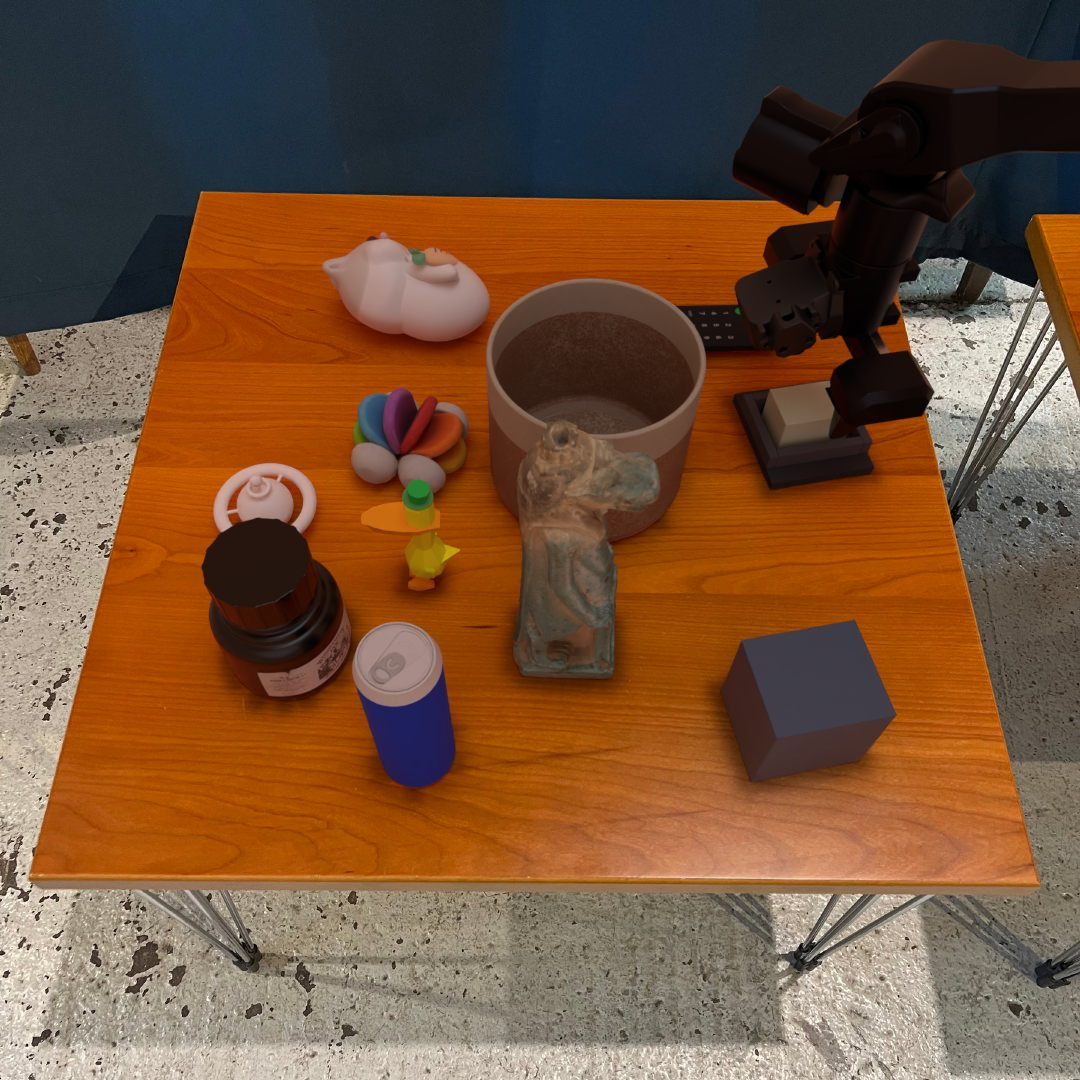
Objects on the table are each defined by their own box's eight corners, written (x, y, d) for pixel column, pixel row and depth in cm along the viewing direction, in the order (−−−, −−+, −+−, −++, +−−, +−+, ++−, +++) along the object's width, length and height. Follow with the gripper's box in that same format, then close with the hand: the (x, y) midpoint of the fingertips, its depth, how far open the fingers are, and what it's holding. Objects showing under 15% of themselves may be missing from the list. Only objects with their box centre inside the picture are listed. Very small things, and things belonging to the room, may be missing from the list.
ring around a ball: (313, 469, 81) (215, 487, 79) (301, 426, 76) (196, 445, 75) (326, 549, 77) (223, 569, 75) (314, 510, 72) (204, 531, 71)
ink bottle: (296, 730, 68) (258, 652, 58) (202, 668, 71) (149, 584, 61) (380, 626, 73) (358, 538, 63) (289, 572, 75) (254, 479, 65)
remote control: (515, 318, 91) (515, 307, 90) (769, 315, 92) (772, 304, 91) (516, 360, 88) (516, 349, 87) (778, 355, 89) (782, 345, 88)
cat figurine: (498, 246, 82) (324, 208, 82) (478, 338, 82) (304, 301, 82) (499, 279, 92) (343, 245, 92) (482, 361, 92) (325, 328, 91)
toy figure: (374, 600, 74) (351, 509, 64) (378, 560, 76) (356, 466, 66) (463, 599, 74) (454, 508, 64) (464, 560, 76) (455, 465, 66)
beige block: (826, 406, 84) (837, 378, 81) (843, 441, 82) (855, 414, 79) (760, 416, 84) (769, 388, 81) (776, 452, 81) (785, 425, 78)
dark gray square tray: (828, 386, 87) (835, 367, 85) (871, 474, 82) (880, 455, 79) (732, 400, 86) (737, 381, 84) (769, 490, 80) (776, 472, 78)
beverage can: (417, 705, 69) (394, 601, 57) (471, 749, 68) (460, 651, 55) (365, 758, 67) (330, 662, 55) (420, 805, 65) (396, 717, 53)
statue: (629, 688, 70) (676, 481, 49) (514, 693, 70) (511, 486, 49) (620, 605, 74) (659, 380, 53) (510, 609, 74) (507, 385, 53)
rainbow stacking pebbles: (450, 511, 79) (444, 454, 73) (339, 482, 80) (324, 425, 74) (483, 433, 83) (480, 374, 77) (377, 408, 85) (366, 348, 79)
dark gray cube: (824, 671, 71) (855, 618, 65) (860, 761, 68) (897, 715, 61) (719, 690, 70) (740, 639, 64) (750, 783, 67) (776, 738, 60)
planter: (714, 509, 79) (748, 396, 68) (537, 576, 75) (540, 467, 64) (626, 377, 87) (643, 255, 76) (462, 431, 83) (453, 311, 72)
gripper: (718, 168, 70) (687, 326, 83) (808, 353, 60) (757, 500, 73) (863, 151, 72) (810, 309, 85) (974, 329, 62) (895, 478, 75)
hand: (814, 394), depth 79 cm, fingers open, 9 cm apart
